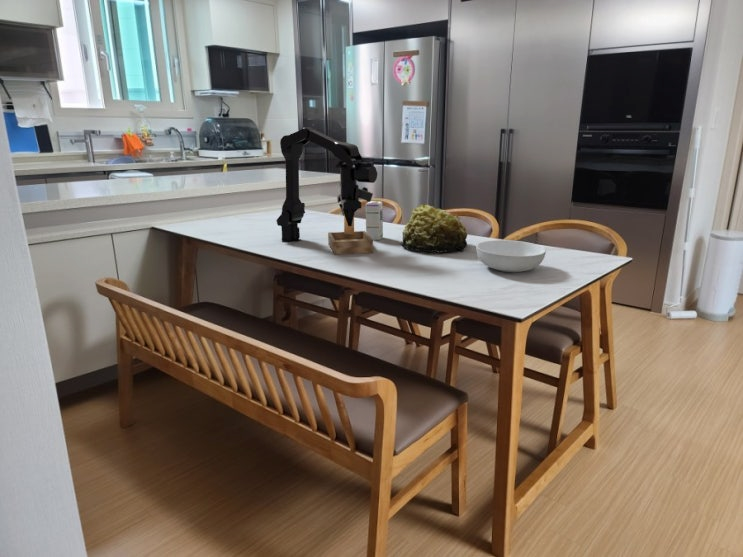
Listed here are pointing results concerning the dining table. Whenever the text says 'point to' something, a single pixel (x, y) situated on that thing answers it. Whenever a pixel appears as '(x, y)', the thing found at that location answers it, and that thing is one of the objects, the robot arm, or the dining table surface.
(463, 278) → the dining table surface
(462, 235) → the lumpy green mound
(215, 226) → the dining table surface
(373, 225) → the syrup box
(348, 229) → the peg
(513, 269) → the serving bowl
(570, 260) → the dining table surface
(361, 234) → the crate
